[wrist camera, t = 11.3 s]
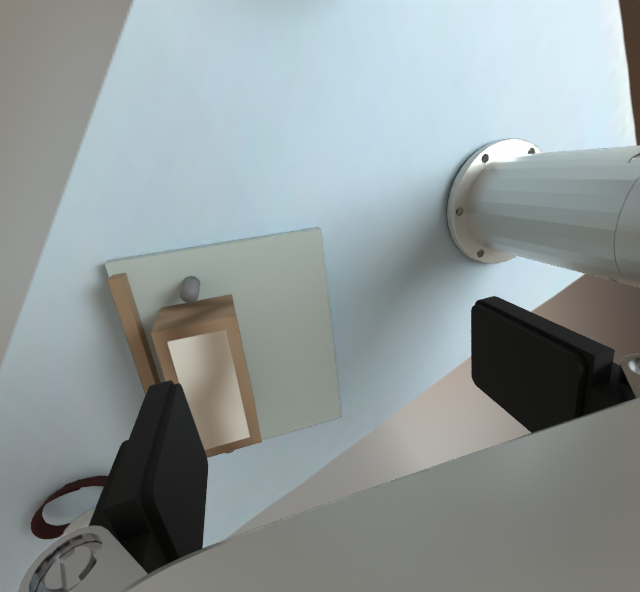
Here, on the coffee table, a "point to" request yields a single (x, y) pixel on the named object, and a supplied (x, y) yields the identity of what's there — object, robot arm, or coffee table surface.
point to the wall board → (246, 317)
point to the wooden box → (209, 370)
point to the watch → (52, 531)
